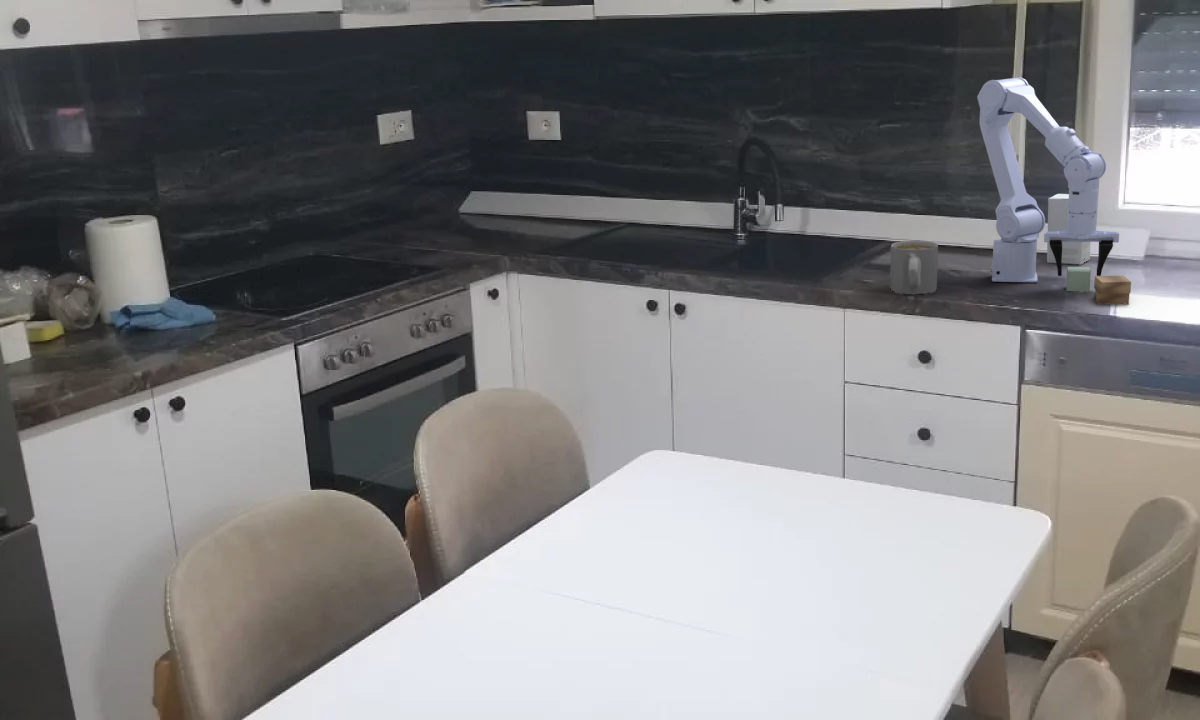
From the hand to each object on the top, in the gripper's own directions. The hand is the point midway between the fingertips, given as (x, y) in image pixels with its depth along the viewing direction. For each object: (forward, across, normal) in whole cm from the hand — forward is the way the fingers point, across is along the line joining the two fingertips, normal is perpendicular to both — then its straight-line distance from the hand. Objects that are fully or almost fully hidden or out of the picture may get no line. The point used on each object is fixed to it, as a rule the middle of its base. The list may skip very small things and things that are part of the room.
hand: (1079, 275), depth 250 cm
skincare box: (+3, -1, +28) cm, 28 cm away
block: (+3, 0, 0) cm, 3 cm away
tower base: (+4, +6, -9) cm, 11 cm away
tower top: (+1, +6, -9) cm, 11 cm away
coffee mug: (+3, -34, -5) cm, 35 cm away
